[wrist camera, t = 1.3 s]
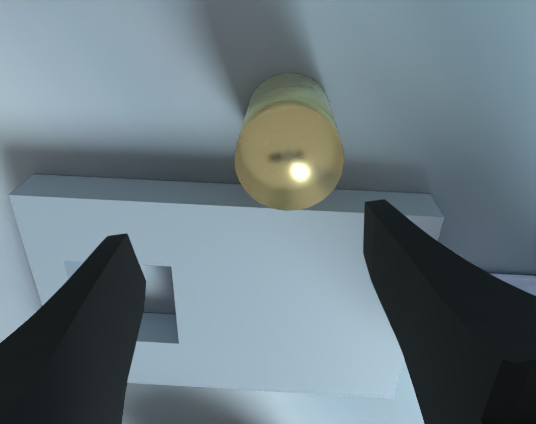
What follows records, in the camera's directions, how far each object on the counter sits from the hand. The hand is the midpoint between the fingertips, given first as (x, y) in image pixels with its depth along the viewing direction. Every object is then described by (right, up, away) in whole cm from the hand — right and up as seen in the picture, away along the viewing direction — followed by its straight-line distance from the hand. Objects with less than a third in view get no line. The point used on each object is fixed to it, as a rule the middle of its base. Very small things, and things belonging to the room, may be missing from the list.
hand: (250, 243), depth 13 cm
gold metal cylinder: (+2, +6, +9) cm, 10 cm away
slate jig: (-2, -4, +14) cm, 15 cm away
